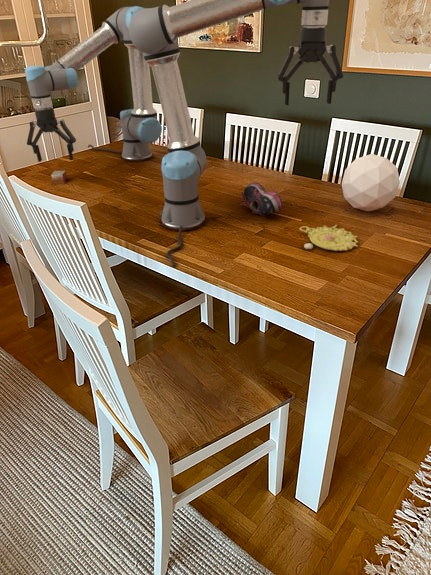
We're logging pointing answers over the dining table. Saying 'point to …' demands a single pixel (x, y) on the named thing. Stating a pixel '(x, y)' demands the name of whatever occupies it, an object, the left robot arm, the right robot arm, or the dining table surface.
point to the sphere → (370, 182)
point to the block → (59, 177)
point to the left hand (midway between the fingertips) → (56, 160)
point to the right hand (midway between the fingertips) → (307, 103)
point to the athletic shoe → (261, 200)
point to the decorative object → (330, 238)
